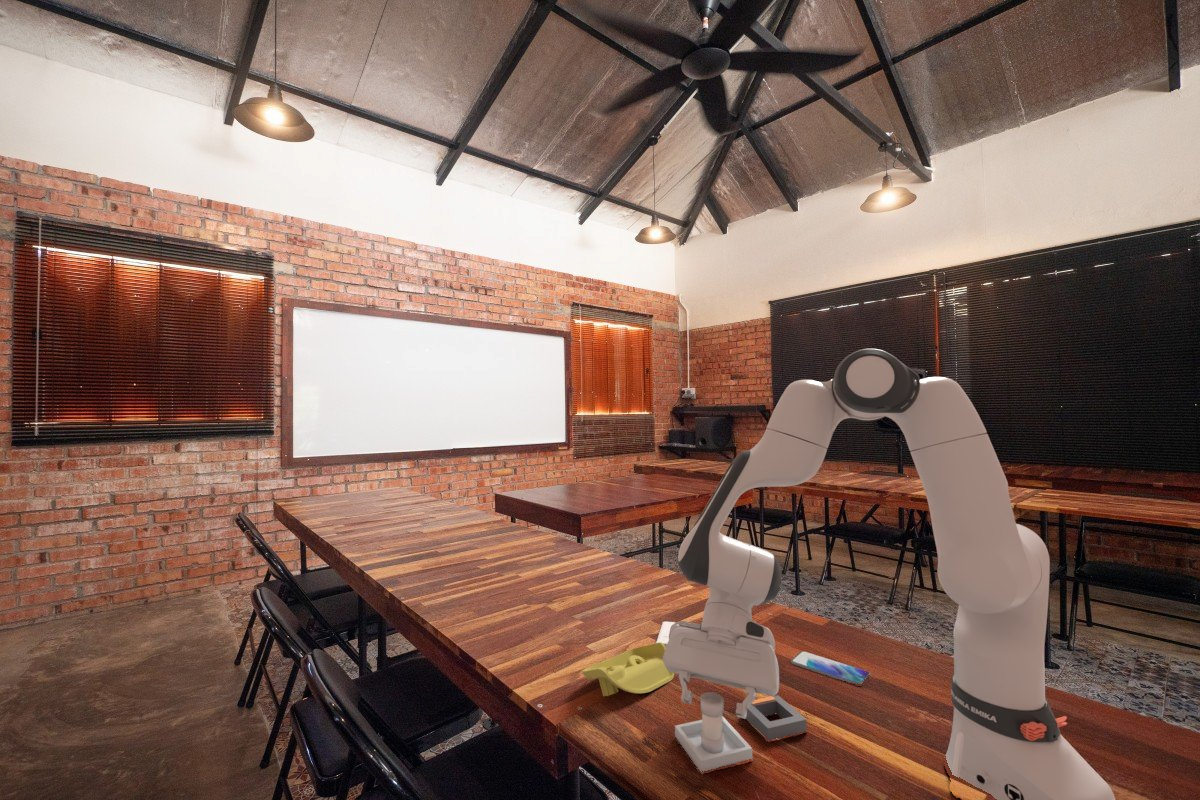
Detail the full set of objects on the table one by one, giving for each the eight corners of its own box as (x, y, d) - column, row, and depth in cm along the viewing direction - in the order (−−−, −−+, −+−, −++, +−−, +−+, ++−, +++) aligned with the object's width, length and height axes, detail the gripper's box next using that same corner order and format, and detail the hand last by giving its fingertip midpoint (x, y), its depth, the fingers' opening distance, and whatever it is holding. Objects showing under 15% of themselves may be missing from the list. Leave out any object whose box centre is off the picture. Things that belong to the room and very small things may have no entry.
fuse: (728, 750, 86) (727, 702, 86) (708, 755, 84) (707, 707, 84) (716, 736, 89) (716, 690, 89) (697, 741, 88) (696, 694, 88)
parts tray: (752, 761, 84) (752, 748, 84) (701, 774, 81) (700, 760, 81) (722, 727, 93) (722, 715, 93) (675, 738, 90) (674, 725, 90)
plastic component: (635, 647, 119) (666, 640, 113) (644, 682, 116) (678, 676, 110) (572, 673, 105) (605, 667, 99) (581, 713, 102) (616, 709, 96)
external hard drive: (694, 630, 134) (689, 652, 122) (662, 627, 136) (655, 648, 124) (693, 624, 134) (689, 645, 122) (662, 621, 136) (655, 642, 124)
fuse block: (806, 733, 91) (806, 718, 91) (768, 742, 88) (767, 727, 88) (778, 708, 98) (778, 694, 98) (742, 716, 96) (741, 701, 96)
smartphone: (801, 650, 121) (871, 671, 110) (801, 653, 121) (871, 675, 110) (789, 660, 115) (861, 684, 105) (789, 664, 115) (861, 689, 105)
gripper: (668, 611, 98) (650, 687, 90) (779, 631, 89) (771, 719, 80) (676, 626, 102) (659, 700, 93) (784, 646, 93) (776, 731, 84)
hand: (712, 709), depth 87 cm, fingers open, 8 cm apart
